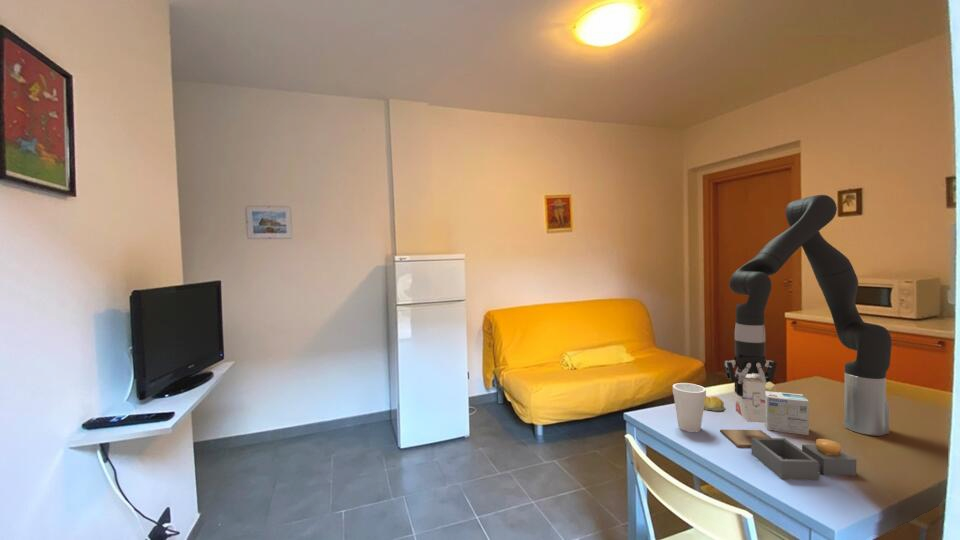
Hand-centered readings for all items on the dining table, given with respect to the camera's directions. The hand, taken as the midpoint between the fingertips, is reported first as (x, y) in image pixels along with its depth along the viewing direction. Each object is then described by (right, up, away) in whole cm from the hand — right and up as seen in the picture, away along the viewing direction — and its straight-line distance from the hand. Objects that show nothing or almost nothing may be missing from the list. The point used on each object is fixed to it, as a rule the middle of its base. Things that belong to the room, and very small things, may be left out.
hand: (749, 395), depth 120 cm
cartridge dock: (+4, -14, -15) cm, 21 cm away
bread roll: (+3, -13, +26) cm, 29 cm away
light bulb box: (+16, -13, +7) cm, 22 cm away
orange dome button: (+10, -13, -15) cm, 23 cm away
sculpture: (+21, -12, +27) cm, 36 cm away
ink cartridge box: (0, -7, 0) cm, 7 cm away
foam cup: (-13, -14, +10) cm, 21 cm away
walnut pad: (0, -13, 0) cm, 13 cm away
